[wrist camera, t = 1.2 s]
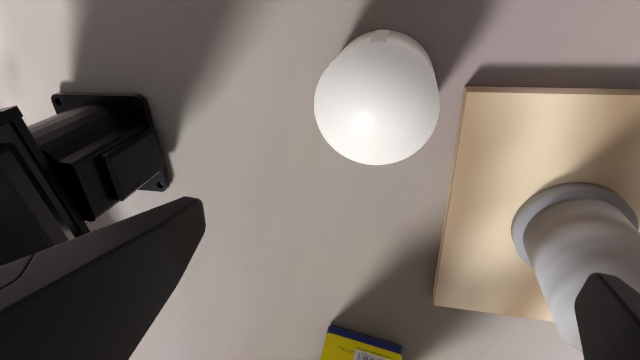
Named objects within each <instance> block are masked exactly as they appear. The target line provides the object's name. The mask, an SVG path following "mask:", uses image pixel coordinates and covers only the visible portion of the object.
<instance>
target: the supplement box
mask: <svg viewBox="0 0 640 360" xmlns="http://www.w3.org/2000/svg"><path fill="white" fill-rule="evenodd" d="M320 360H402V347H401V346H398V345H395V344H392V343H388V342H385V341H382V340H378V339H375V338H371V337H368V336H365V335H361V334H358V333H355V332H351V331H348V330H345V329H341V328H338V327H335V326H329V327H328V331H327V335H326V339H325V343H324V348H323V352H322V356H321V359H320Z"/></svg>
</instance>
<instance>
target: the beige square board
mask: <svg viewBox="0 0 640 360" xmlns="http://www.w3.org/2000/svg"><path fill="white" fill-rule="evenodd" d="M594 272H598V273H604V274H609V275H614V276H617V277H618V278H620V279H621V280H623V281H624V282H625V283H627V284H628V285H629V286H631V287H632V288H633V289H635V290H636V291H638V292H639V293H640V89H598V88H539V87H479V86H465V87H464V93H463V100H462V106H461V113H460V119H459V126H458V132H457V139H456V145H455V152H454V159H453V165H452V172H451V178H450V185H449V191H448V198H447V204H446V211H445V217H444V224H443V230H442V237H441V243H440V250H439V256H438V263H437V269H436V276H435V282H434V289H433V305H434V306H441V307H449V308H456V309H464V310H471V311H479V312H486V313H493V314H501V315H508V316H516V317H523V318H530V319H538V320H545V321H553V322H555V325H556V327H557V330H558V332H559V334H560V335H561V337H562V338H563V339H564V340H565V341H566V342H567V343H568V344H569V345H570V346H572V347H573V348H575V349H577V350H579V351H581V352H583V350H582V345H581V340H580V335H579V330H578V325H577V320H576V315H575V310H574V303H575V299H576V297H577V295H578V293H579V292H580V290H581V288H582V286H583V285H584V283H585V281H586V280H587V278H588V276H589V275H590V274H591V273H594Z"/></svg>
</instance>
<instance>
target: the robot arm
mask: <svg viewBox="0 0 640 360" xmlns="http://www.w3.org/2000/svg"><path fill="white" fill-rule="evenodd" d="M51 100H52V103H53V106H54V108H55V111H56V113H57V115H55V116H52V117H50V118H47V119H45V120H42V121H40V122H37V123H35V124H33V125H30V126H28V127H27V126H26V124H25V122H24V121H23V119H22V118H21V117H23V115H22V113H21V112H20V110H19V108H18V107H17V106H12V107H7V108H2V109H0V360H128V359H129V358H130V356H131V355H132V353H133V352H134V350H135V349H136V347H137V346H138V344H139V343H140V341H141V339H142V338H143V336H144V335H145V333H146V332H147V330H148V329H149V327H150V326H151V324H152V323H153V321H154V320H155V318H156V317H157V315H158V314H159V312H160V311H161V309H162V308H163V306H164V305H165V303H166V302H167V300H168V298H169V297H170V295H171V294H172V292H173V291H174V289H175V288H176V286H177V284H178V283H179V281H180V279H181V277H182V276H183V274H184V272H185V270H186V268H187V266H188V264H189V262H190V260H191V258H192V256H193V254H194V252H195V250H196V248H197V246H198V245H199V243H200V241H201V239H202V237H203V235H204V232H205V228H206V223H205V216H204V209H203V203H202V201H201V200H200V199H198V198H193V197H182V198H179V199H177V200H174V201H172V202H169V203H166V204H164V205H161V206H158V207H156V208H153V209H150V210H148V211H145V212H143V213H140V214H137V215H135V216H132V217H129V218H127V219H124V220H122V221H119V222H116V223H114V224H111V225H108V226H106V227H103V228H101V229H98V230H95V231H93V232H91V230H90V228H89V227H88V225H87V223H86V222H87V221H92V222H93V221H95V220H97V219H98V218H99V217H100V216H102V215H103V214H104V213H105V212H107V211H108V210H109V209H110V208H112V207H113V206H114V205H116V204H117V203H118V202H119V201H124V200H125V199H126V198H128V197H129V196H130V195H131V194H133V193H134V192H135V191H136V190H149V191H160V192H162V191H165V190H166V189H167V188H168V187H169V186H170V182H169V179H168V175H167V172H166V168H165V164H164V161H163V157H162V154H161V150H160V146H159V143H158V139H157V135H156V132H155V128H154V125H153V121H152V117H151V114H150V110H149V106H148V103H147V101H146V99H145V98H144V97H143V96H142V95H139V94H107V93H68V92H60V93H56V94H54V95H52V97H51ZM61 101H62V102H61ZM136 101H137V102H139V104H140V106H139V105H137V103H136ZM160 182H161V183H162V184H160ZM574 310H575V315H576V320H577V325H578V330H579V335H580V340H581V345H582V350H583V355H584V360H640V293H639V292H638V291H636V290H635V289H633V288H632V287H631V286H629V285H628V284H627V283H625V282H624V281H623V280H621V279H620V278H618V277H617V276H614V275H609V274H604V273H598V272H594V273H591V274H590V275H589V276H588V278H587V280H586V281H585V283H584V285H583V286H582V288H581V290H580V292H579V293H578V295H577V297H576V299H575V303H574Z"/></svg>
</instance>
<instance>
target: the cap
mask: <svg viewBox="0 0 640 360" xmlns="http://www.w3.org/2000/svg"><path fill="white" fill-rule="evenodd" d="M314 111H315V117H316V121H317V124H318V127H319V129H320V131H321V133H322V135H323V137H324V138H325V139H326V141H327V142H328V143H329V144H330V145H331V146H332V147H333V148H334V149H335V150H336V151H337V152H338V153H340V154H341V155H343V156H345V157H347V158H349V159H350V160H353V161H356V162H359V163H363V164H369V165H385V164H391V163H395V162H398V161H401V160H403V159H405V158H407V157H409V156H411V155H412V154H414V153H415V152H417V151H418V150H419V149H420V148H421V147H422V146H423V145H424V144H425V143H426V142H427V141H428V139H429V138H430V136H431V135H432V133H433V131H434V129H435V127H436V124H437V121H438V117H439V112H440V98H439V91H438V87H437V82H436V78H435V73H434V69H433V65H432V62H431V59H430V57H429V56H428V54H427V52H426V51H425V49H424V48H423V47H422V46H421V45H420V44H419V43H418V42H417V41H416V40H414V39H413V38H411V37H410V36H408V35H406V34H403V33H400V32H397V31H392V30H376V31H372V32H368V33H366V34H363V35H361V36H359V37H357V38H356V39H354V40H353V41H351V42H350V43H349V44H348V45H347V46H346V47H345V48H344V49H343V50H342V51H341V52H340V54H339V55H338V56H337V57H336V58H335V59H334V60H333V62H332V63H331V64H330V65H329V66H328V67H327V69H326V70H325V71H324V73H323V75H322V76H321V78H320V80H319V83H318V85H317V89H316V92H315V98H314Z"/></svg>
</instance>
